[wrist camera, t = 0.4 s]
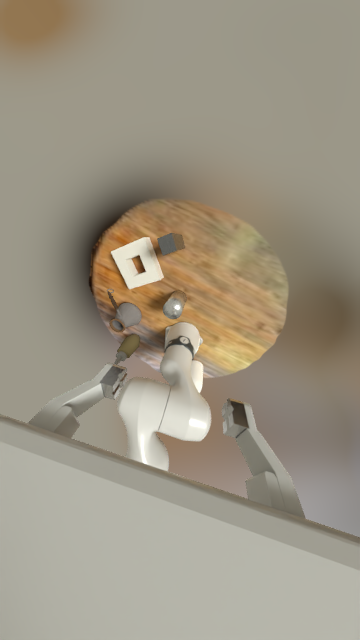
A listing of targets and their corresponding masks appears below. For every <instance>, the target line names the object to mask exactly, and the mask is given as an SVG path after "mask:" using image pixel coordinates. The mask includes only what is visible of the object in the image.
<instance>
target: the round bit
mask: <svg viewBox="0 0 360 640" xmlns="http://www.w3.org/2000/svg"><path fill="white" fill-rule="evenodd" d="M186 300H187V297H186V295H185V293H184V292H182V291H175V292H173V293H172V295H171V296H170V298H169V299H168V300H167V302H166V303H165V305H164V306H163V313H164V314H165V316H166V317H168V318H170V319H177V318H178V317H180V315H181V313H182V310H183V308H184V305H185V303H186Z"/></svg>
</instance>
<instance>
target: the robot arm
mask: <svg viewBox="0 0 360 640" xmlns="http://www.w3.org/2000/svg"><path fill="white" fill-rule="evenodd" d="M202 342H203V340H202V338H201V337H200V335H199V332H198V330H197V329H196V327H195V326H193V325H192V324H189V323H186V322H180V323H176V324H174V325H173V326H168V327H166V335H165V354H164V356H163V359H162V361H161V364H160V370H161V373H162V376H163V377H164V378H165V380H166V381H167V382H168V383H169V384H170V385H168V384H165V383H162V382H159V381H156V380H153V379H150V378H143V377H134V378H132V379H130V380H129V381H128V382H127V383H126V384H125V382H126V380H127V373H126V372H127V368H125V367H122V366H118V365H115V364H112V363H107V364H106V365H105V366H104V367H103V368H102V370H101V371H100V372H99V373H98V374H97V376H96V377H95V378H94V379H93V380H90V381H87V382H85V383H84V384H82V385H80V386H78V387H76V388H74V389H72V390H70V391H68V392H66V393H64V394H62V395H60V396H58V397H56V398H54V399H52V400H51V401H50V402H49V403H48V404H47V405H46V406H45V407H44V408H43V409H42V410H41V411H40V412H38V414H36V415H35V416H34V418H32V419H31V420H30V421H29V423H25V422H22V421H19V420H16V419H13V418H10V417H7V416H4V415H1V414H0V640H360V537H357V536H354V535H351V534H349V533H345V532H342V531H340V530H336V529H334V528H331V527H328V526H325V525H322V524H319V523H316V522H314V521H311V520H307V519H306V518H305V515H304V513H303V510H302V507H301V504H300V501H299V498H298V495H297V492H296V489H295V487H294V484H293V481H292V479H291V477H290V475H289V474H288V473H287V471H286V470H285V468H284V467H283V465H282V464H281V463H280V461H279V460H278V458H277V457H276V455H275V454H274V452H273V451H272V449H271V448H270V447H269V445H268V444H267V442H266V441H265V439H264V438H263V437H262V435H261V434H260V432H258V431H257V428H256V424H255V420H254V416H253V413H252V409H251V406H250V405H249V404H247V403H244V402H241V401H237V400H234V399H230V398H229V399H227V403H225V404H224V405H223V408H222V417H223V418H224V420H225V421H224V422H223V432H224V434H225V435H227V436H230V437H233V438H236V442H237V444H238V446H239V448H240V450H241V452H242V454H243V456H244V458H245V460H246V462H247V464H248V467H249V469H250V471H251V473H252V475H253V477H251V478H249V479H247V480H246V488H247V495H248V499H246V498H244V497H241V496H238V495H235V494H232V493H229V492H226V491H223V490H220V489H217V488H214V487H212V486H209V485H206V484H203V483H200V482H197V481H194V480H191V479H188V478H185V477H182V476H179V475H176V474H173V473H170V472H168V467H169V457H168V453H167V450H166V447H165V445H164V443H163V442H162V441H161V440H160V438H159V437H158V436H157V434H156V431H158V432H161V433H164V434H167V435H170V436H172V437H175V438H178V439H181V440H187V441H201V440H202V439H203V438H204V437H205V436H206V435H207V433H208V431H209V428H210V424H211V412H210V408H209V405H208V403H207V402H206V400H205V399H204V398H203V397H202V396H201V395H200V393H199V392H198V390H197V389H196V387H195V385H194V382H193V380H192V376H191V364H192V360H193V358H194V354H196V352H197V351H198V347H199V346H200V345H201V343H202ZM124 384H125V385H124ZM122 386H123V388H122V389H121V391H120V388H121V387H122ZM119 392H120V393H119ZM118 394H119V396H118ZM117 396H118V401H117V407H118V412H119V414H120V416H121V417H122V419H123V421H124V424H125V427H126V431H127V436H128V449H127V454H126V457H124V456H121V455H118V454H115V453H112V452H110V451H107V450H103V449H101V448H97V447H95V446H92V445H89V444H86V443H83V442H80V441H77V440H75V439H72V436H73V435H74V433H75V432H76V430H77V429H78V428H79V426H80V424H79V421H78V420H77V417H78V416H79V415H81V414H82V413H83V412H85V411H86V410H88V409H89V408H90V407H92V406H93V405H95V404H96V403H97V402H99V401H100V400H102V399H103V398H104V397H106V398H110V399H114V400H115V399H116V397H117Z"/></svg>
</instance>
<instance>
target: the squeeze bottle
mask: <svg viewBox="0 0 360 640" xmlns="http://www.w3.org/2000/svg"><path fill="white" fill-rule="evenodd" d="M139 344H140V337H139V336H138V335H136V334H132V335H130V336H128V337H126V338H125V340H124V341H123V343H122V344H121V346H120V347H119V349H118V350H117V352H118V353H117V354H116V357H117V359H116V361H115V364H116V365H117V364H118V363H119V362H120V361H124V360H125V359H126V358H129V357H130V356H131V355H132V354H133V352H134V351H135V350H136V349H137V348H138V347H139Z"/></svg>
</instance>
